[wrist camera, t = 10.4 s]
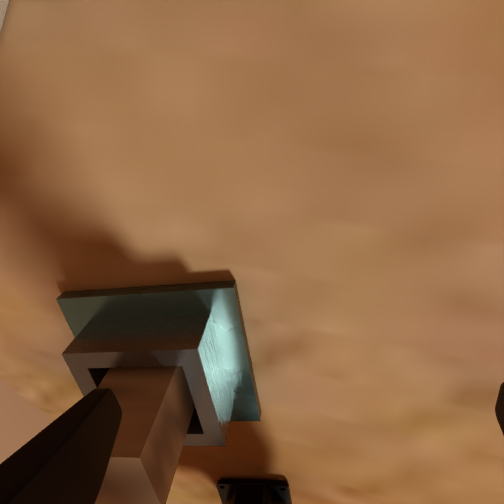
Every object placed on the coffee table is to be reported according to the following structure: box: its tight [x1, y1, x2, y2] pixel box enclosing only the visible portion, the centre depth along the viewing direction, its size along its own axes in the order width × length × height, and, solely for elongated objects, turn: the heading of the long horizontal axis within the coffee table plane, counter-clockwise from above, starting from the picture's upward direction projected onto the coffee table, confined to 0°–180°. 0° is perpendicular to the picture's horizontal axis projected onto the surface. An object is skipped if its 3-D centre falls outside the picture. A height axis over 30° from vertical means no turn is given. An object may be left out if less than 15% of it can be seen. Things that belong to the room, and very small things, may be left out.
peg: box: [95, 366, 195, 504], centre depth 20 cm, size 4×4×8 cm
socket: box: [56, 281, 261, 446], centre depth 23 cm, size 12×12×4 cm
